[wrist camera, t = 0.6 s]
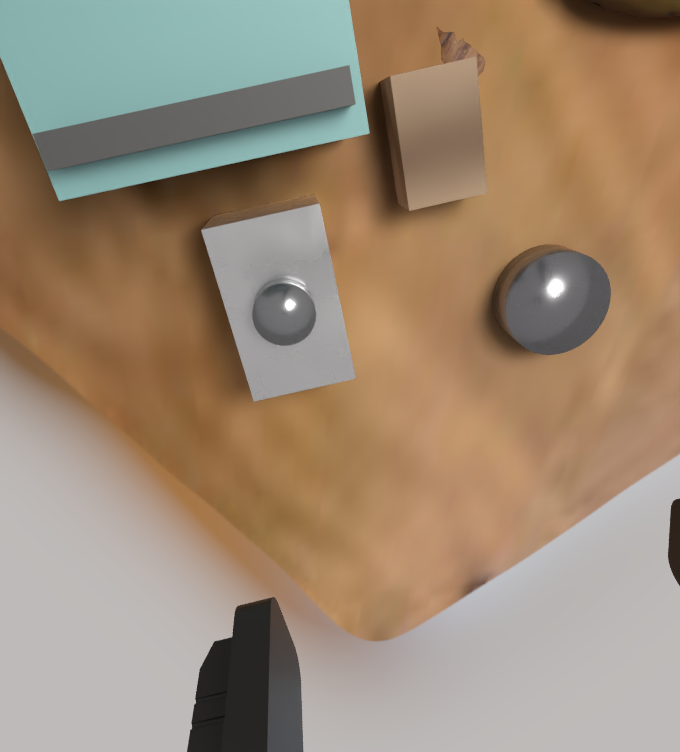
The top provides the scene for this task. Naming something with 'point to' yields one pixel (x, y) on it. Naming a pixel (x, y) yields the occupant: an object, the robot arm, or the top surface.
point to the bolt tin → (551, 299)
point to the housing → (280, 295)
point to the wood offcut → (435, 134)
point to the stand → (178, 84)
